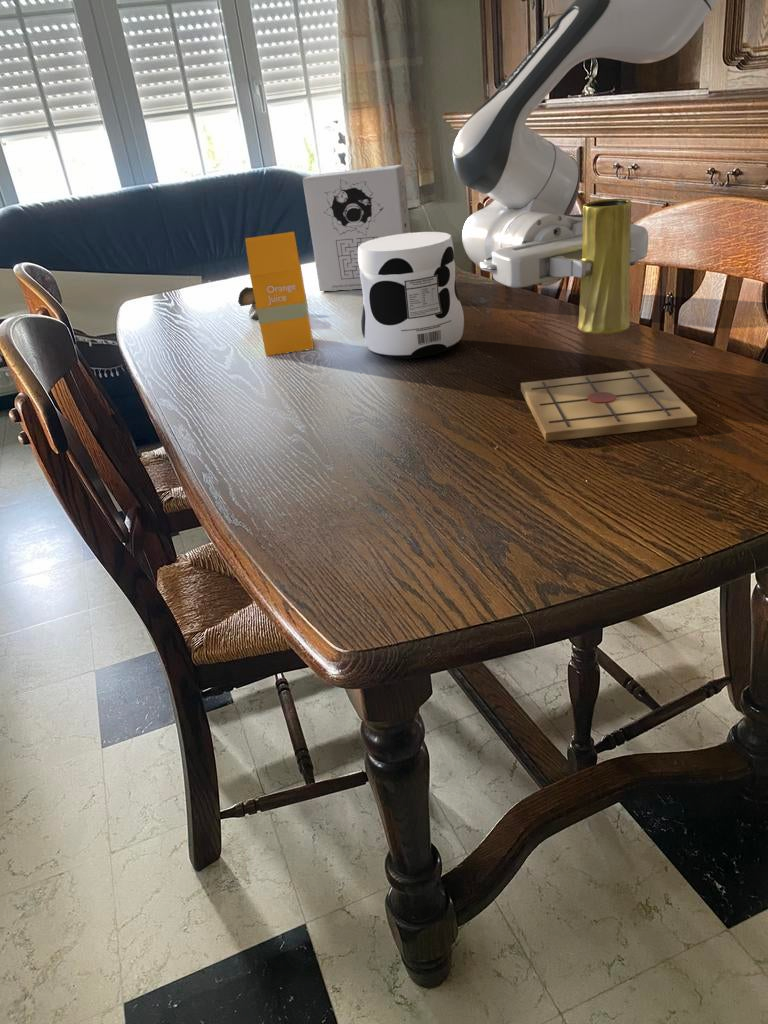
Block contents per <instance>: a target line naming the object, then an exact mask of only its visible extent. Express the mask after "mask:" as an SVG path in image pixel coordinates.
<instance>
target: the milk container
mask: <svg viewBox="0 0 768 1024" xmlns="http://www.w3.org/2000/svg"><path fill="white" fill-rule="evenodd" d="M452 237H453V236H452V235H451V234H450V233H447V232H441V231H418V232H410V233H405V234H397V235H391V236H386V237H381V238H377V239H373V240H369V241H367V242H365V243H362V244H361V245H360V246H359V247H358V263H359V268H360V279H361V285H362V290H361V291H362V302H363V304H362V313H361V322H360V328H361V333H362V337H363V340H364V343H365V347H367V349H368V350H369V351H370V352H371V353H372V354H374V355H376V356H379V357H381V358H386V359H393V360H403V359H404V360H406V359H407V360H411V359H418V358H419V359H420V358H426V357H429V356H435V355H439V354H441V353H443V352H446V351H448V350H451V349H452V348H453V347H455V346H456V345H458V343H459V342H460V341H461V340H462V337H463V334H464V328H465V318H464V317H465V316H464V309H463V306H462V303H461V301H460V298H459V294H458V290H457V282H456V281H457V280H456V263H455V259H454V258H455V249H454V242H453V238H452Z"/></svg>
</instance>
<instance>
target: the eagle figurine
mask: <svg viewBox="0 0 768 1024" xmlns="http://www.w3.org/2000/svg"><path fill="white" fill-rule="evenodd" d="M237 303H238V304H239V306H240V307H245V306H250V308H249V311H248V317H250V316H251V317H250V319H251V320H252V321H255V322H257V321H258V320H259V319H258V314H257V307H256V302H255V297H254V292H253V287H248V286H246V287H244V288H243V289H242V290H241V291H240V292H239V293H238V300H237Z"/></svg>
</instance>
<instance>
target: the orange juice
mask: <svg viewBox="0 0 768 1024" xmlns="http://www.w3.org/2000/svg"><path fill="white" fill-rule="evenodd" d="M295 235H296V234H295V231H288V232H281V233H274V234H265V235H260V236H252V237H245V238H244V241H245V249H246V255H247V262H248V270H249V278H250V282H251V288H253V292H254V297H255V302H256V307H257V314H258V319H259V321H258V323H259V327H260V332H261V338H262V342H263V348H264V353H265V356H266V357H269V356H268V355H271V356H276V355H275V354H278V355H282V354H281V353H285V354H288V353H287V352H292V353H295V352H294V351H299V352H302V351H301V350H306V349H312V348H313V349H314V338H313V331H312V326H311V319H310V313H309V306H308V300H307V293H306V290H305V283H304V277H303V271H302V265H301V260H300V256H299V250H298V246H297V241H296V236H295ZM306 351H307V350H306Z"/></svg>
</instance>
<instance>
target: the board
mask: <svg viewBox="0 0 768 1024" xmlns="http://www.w3.org/2000/svg"><path fill="white" fill-rule="evenodd" d="M520 392H521V393H522V396H523V398H524V400H525V402H526V404H527V407H528V408H529V411H530V413H531V415H532V416H533V419H534V420H535V423H536V425H537V426H538V427H537V428H538V429H539V431H540V433H541V435H542V437H543V439H544V441H545V443H547V442H555V441H556V442H557V441H565V440H572V439H573V440H574V439H584V438H593V437H601V436H602V437H603V436H609V435H619V434H628V433H636V432H637V433H638V432H646V431H647V432H648V431H655V430H663V429H664V430H665V429H673V428H674V429H675V428H681V427H693V426H697V424H698V415H697V414H695V412H693V410H691V408H690V407H688V405H687V404H686V403H684V402H683V400H682V399H681V398H680V397H678V395H677V394H676V393H675V392H674V391H673V390H672V389H671V388H670V387H669V386H668V385H666V384H665V382H664V381H662V379H661V378H660V377H658V375H657V374H656V373H655V372H654V371H653V370H652V369H651V368H650V367H649V368H640V369H639V368H638V369H632V370H624V371H613V372H605V373H595V374H588V375H587V374H586V375H579V376H571V377H570V376H569V377H562V378H555V379H554V378H553V379H552V378H551V379H544V380H535V381H526V382H525V381H524V382H520Z"/></svg>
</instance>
